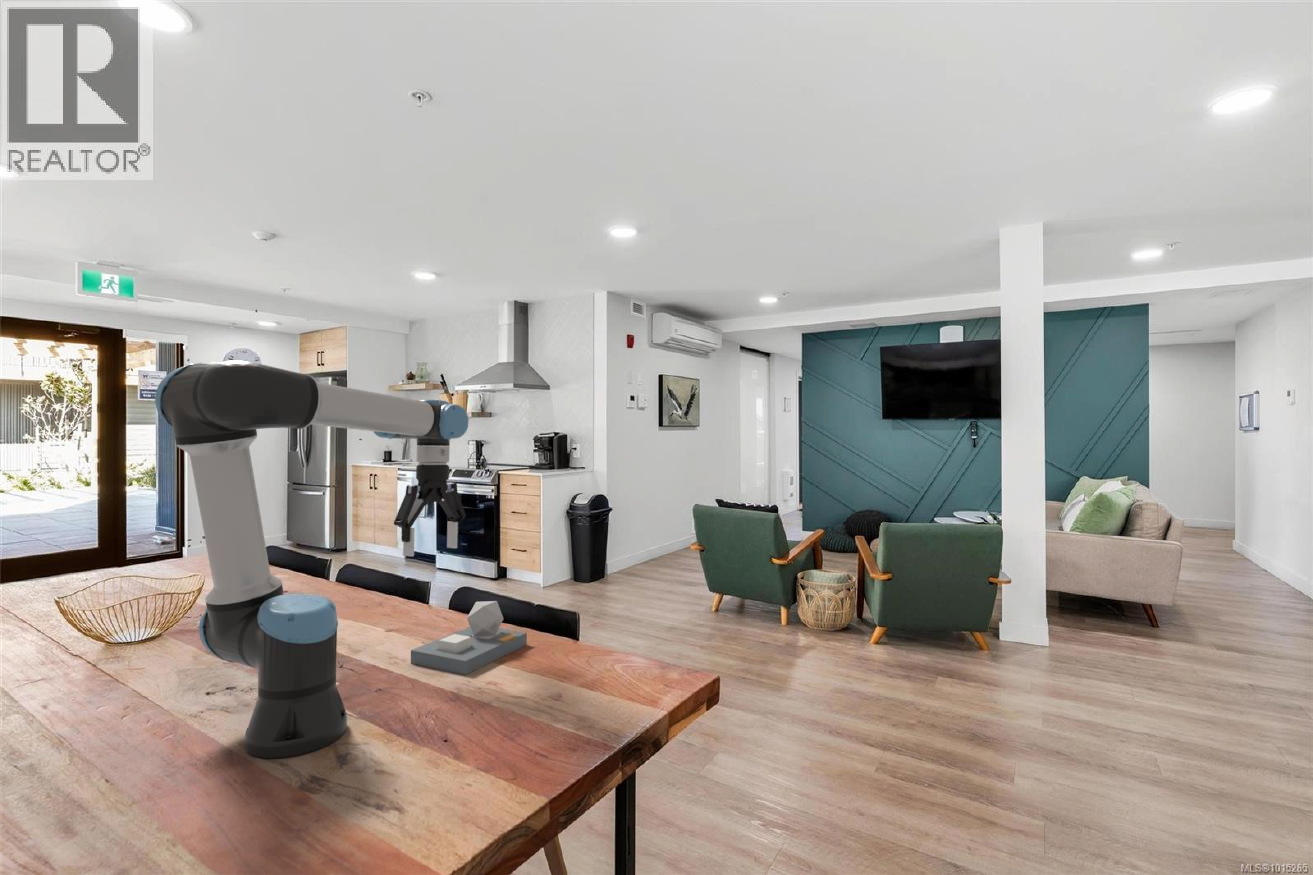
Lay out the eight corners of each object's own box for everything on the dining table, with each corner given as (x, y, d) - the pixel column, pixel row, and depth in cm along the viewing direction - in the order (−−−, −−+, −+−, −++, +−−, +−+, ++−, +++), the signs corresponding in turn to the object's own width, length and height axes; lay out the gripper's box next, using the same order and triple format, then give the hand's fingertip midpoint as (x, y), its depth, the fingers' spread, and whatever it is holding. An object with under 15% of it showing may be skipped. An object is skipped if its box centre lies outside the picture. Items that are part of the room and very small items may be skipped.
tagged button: (487, 651, 149) (488, 638, 149) (471, 648, 151) (471, 635, 151) (501, 645, 153) (501, 632, 153) (485, 642, 156) (485, 629, 156)
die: (486, 644, 146) (509, 608, 150) (456, 625, 147) (480, 590, 151) (490, 646, 154) (513, 611, 157) (462, 628, 155) (484, 594, 158)
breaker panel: (465, 674, 134) (465, 660, 134) (410, 663, 141) (410, 649, 141) (526, 644, 154) (526, 631, 154) (476, 635, 161) (476, 623, 161)
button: (455, 657, 139) (455, 643, 139) (438, 654, 141) (438, 640, 141) (470, 650, 143) (471, 636, 143) (454, 647, 146) (454, 633, 146)
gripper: (402, 465, 136) (399, 561, 136) (480, 463, 159) (479, 546, 158) (378, 464, 140) (376, 558, 139) (459, 462, 162) (457, 543, 162)
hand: (431, 551), depth 149 cm, fingers open, 13 cm apart
